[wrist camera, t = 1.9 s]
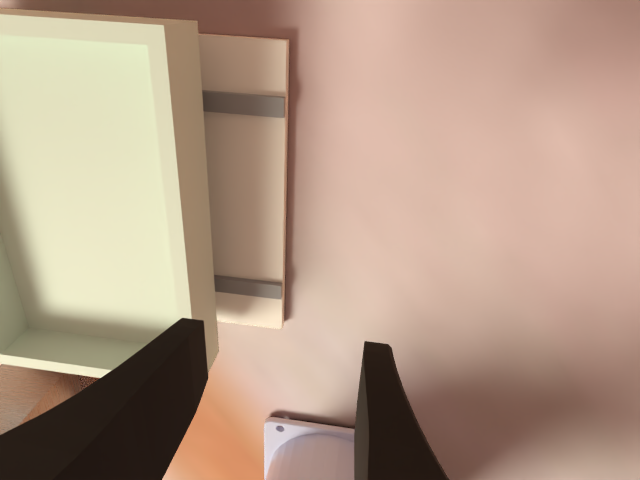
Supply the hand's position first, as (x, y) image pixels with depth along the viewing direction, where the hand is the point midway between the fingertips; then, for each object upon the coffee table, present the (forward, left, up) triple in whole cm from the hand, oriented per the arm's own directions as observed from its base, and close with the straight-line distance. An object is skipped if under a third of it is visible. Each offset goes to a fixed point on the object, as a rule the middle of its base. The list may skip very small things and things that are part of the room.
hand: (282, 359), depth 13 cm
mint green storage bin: (+10, 0, -10) cm, 14 cm away
